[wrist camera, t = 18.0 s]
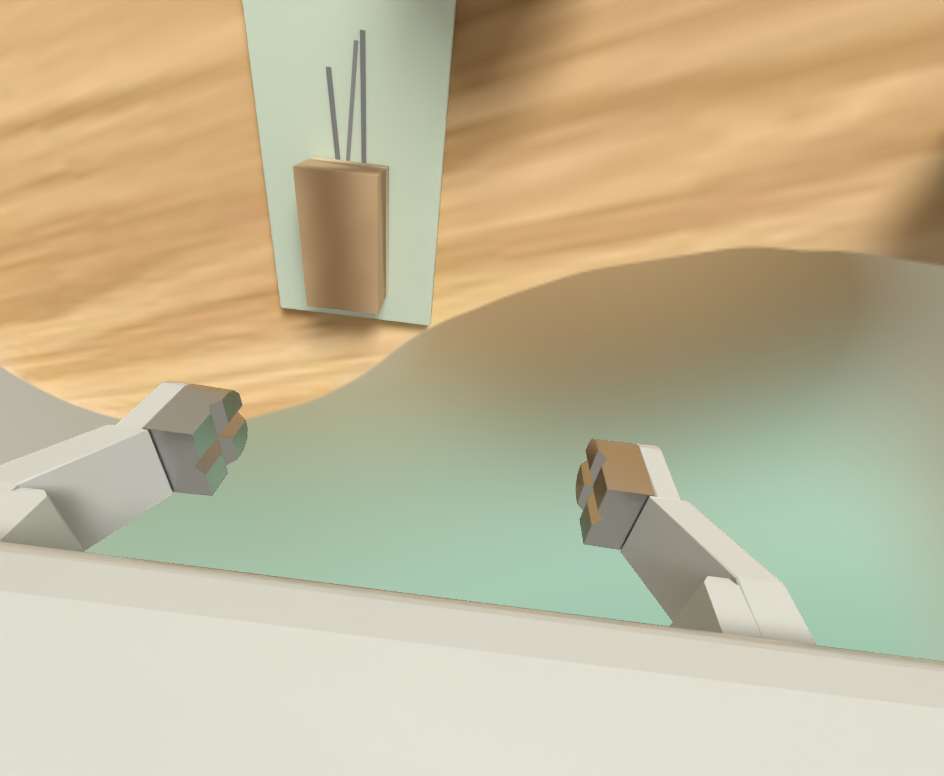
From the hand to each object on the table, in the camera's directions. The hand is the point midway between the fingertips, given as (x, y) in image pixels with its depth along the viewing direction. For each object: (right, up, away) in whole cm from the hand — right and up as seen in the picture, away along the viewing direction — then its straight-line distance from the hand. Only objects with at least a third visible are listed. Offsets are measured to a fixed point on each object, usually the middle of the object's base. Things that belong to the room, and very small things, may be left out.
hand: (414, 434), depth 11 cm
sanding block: (-7, +12, +22) cm, 26 cm away
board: (-7, +17, +20) cm, 28 cm away
